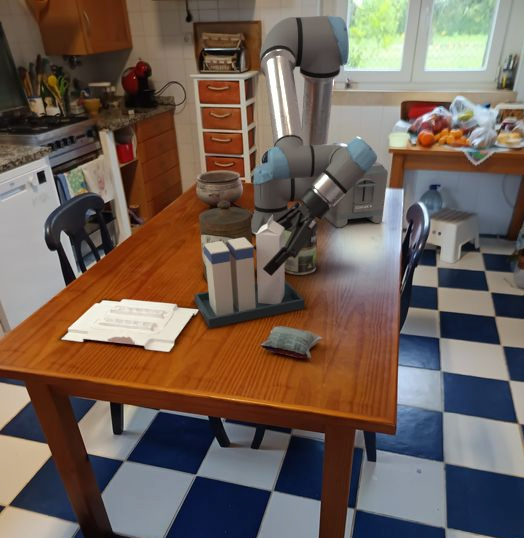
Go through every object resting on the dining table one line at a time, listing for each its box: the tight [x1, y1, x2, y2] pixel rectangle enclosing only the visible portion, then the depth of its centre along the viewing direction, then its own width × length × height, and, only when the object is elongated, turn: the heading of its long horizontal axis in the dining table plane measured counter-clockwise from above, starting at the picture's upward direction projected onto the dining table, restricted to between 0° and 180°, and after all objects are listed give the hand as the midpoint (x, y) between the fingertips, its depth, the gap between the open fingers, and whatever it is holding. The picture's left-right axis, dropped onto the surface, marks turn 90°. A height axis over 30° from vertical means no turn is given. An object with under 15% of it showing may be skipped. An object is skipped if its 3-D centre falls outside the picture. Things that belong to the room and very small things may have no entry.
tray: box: [193, 279, 306, 329], centre depth 127 cm, size 15×26×3 cm, turn 111°
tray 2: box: [61, 298, 199, 353], centre depth 121 cm, size 20×28×4 cm
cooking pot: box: [195, 169, 244, 209], centre depth 198 cm, size 25×19×12 cm
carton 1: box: [204, 241, 234, 316], centre depth 121 cm, size 7×5×17 cm
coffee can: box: [285, 219, 319, 276], centre depth 143 cm, size 10×10×14 cm
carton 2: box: [227, 237, 256, 311], centre depth 123 cm, size 7×5×17 cm
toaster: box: [324, 161, 389, 229], centre depth 182 cm, size 19×33×20 cm, turn 14°
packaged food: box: [259, 325, 323, 359], centre depth 109 cm, size 9×12×5 cm
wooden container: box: [198, 200, 254, 281], centre depth 138 cm, size 15×15×22 cm
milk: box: [255, 215, 286, 304], centre depth 124 cm, size 6×6×22 cm
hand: (261, 261), depth 123 cm, fingers open, 13 cm apart
